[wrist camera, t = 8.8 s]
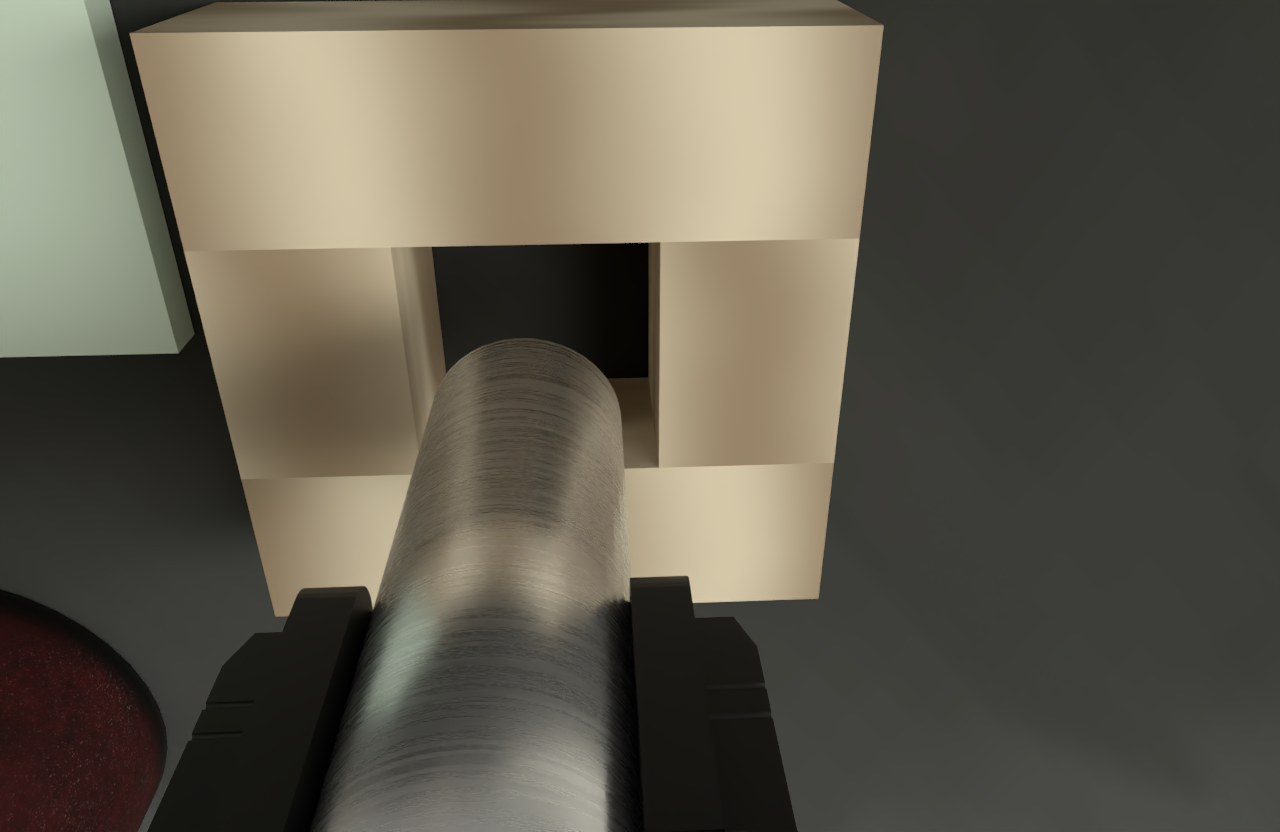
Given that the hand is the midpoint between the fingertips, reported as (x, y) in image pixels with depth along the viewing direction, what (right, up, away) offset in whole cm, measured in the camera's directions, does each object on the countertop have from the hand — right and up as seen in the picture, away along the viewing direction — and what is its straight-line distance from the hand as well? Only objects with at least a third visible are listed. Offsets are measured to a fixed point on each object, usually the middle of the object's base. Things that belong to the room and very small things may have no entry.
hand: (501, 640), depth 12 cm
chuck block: (0, +6, +10) cm, 12 cm away
